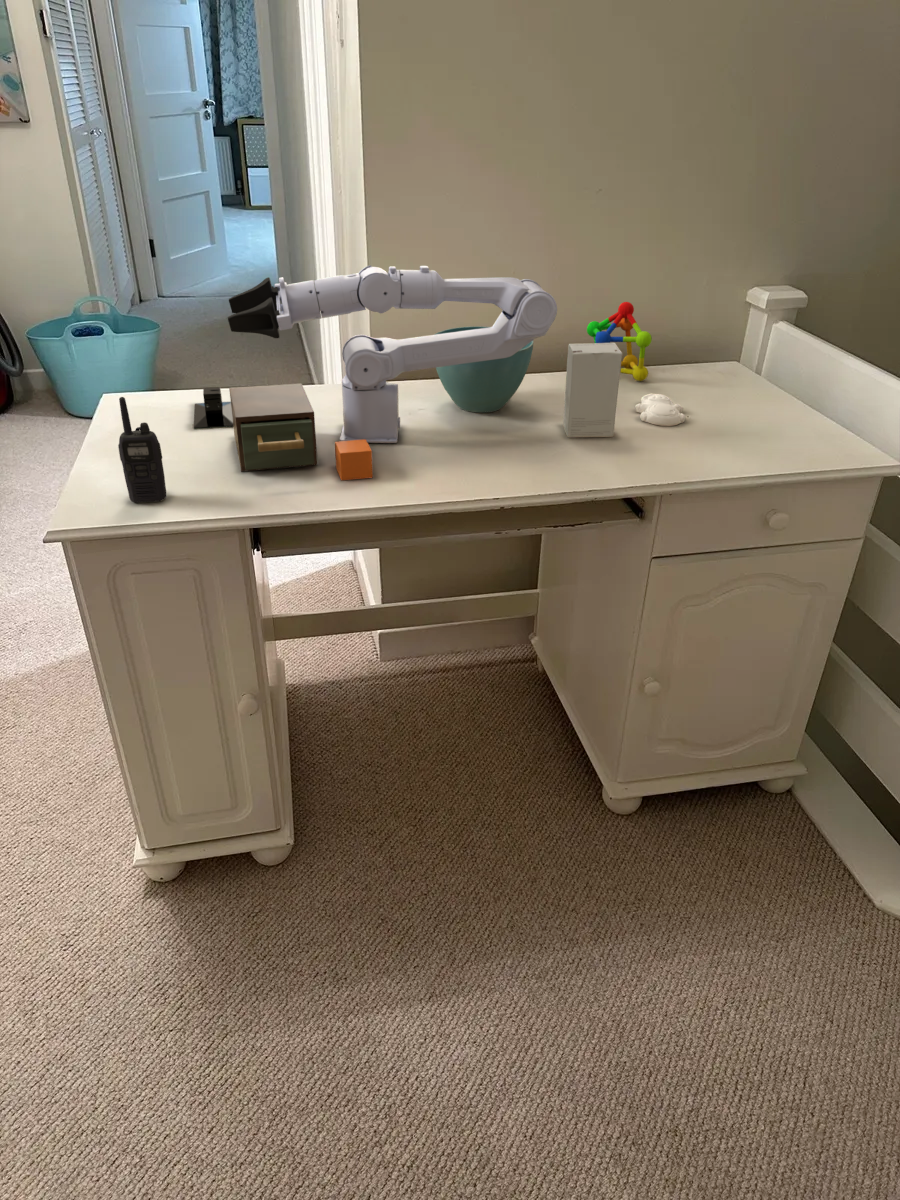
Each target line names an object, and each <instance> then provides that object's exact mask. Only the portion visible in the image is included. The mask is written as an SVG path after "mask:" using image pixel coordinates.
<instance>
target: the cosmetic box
mask: <svg viewBox="0 0 900 1200" xmlns="http://www.w3.org/2000/svg"><path fill="white" fill-rule="evenodd" d="M622 359H623V352H622V351H621V349H620V347H618V345H617V342H610V343H594V342H593V343H587V342H586V343H568V347H567V358H566V373H565V374H566V375H565V388H564V401H563V402H564V403H563V417H562V418H563V419H562V426H563V430H564V432H565V435H566V437H567V438H613V437H614V433H615V425H616V424H615V423H616V415H617V404H618V396H619V385H620V377H621V373H620V368H622V366H621V361H622Z"/></svg>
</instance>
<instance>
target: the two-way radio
mask: <svg viewBox="0 0 900 1200" xmlns="http://www.w3.org/2000/svg"><path fill="white" fill-rule="evenodd" d="M119 408H120V409H119V410H120V415H121V421H122V422H121V423H122V427H123V432H122V433H121V434H120V435H119V440H118V445H117V446H118V447H117V448H118V454H119V460H120V462H121V465H122V470H123V476H124V480H125V481H124V482H125V485H126V488H127V493H128V498H129V500H130V501H131V502H132V503H135V504H136V503H155V502H162V501H163V500H165V499H166V497H167V487H166V478H165V470H164V465H163V453H162V448H161V443H160V442H159V439H158V436H157V435H156V433H155V432H154V431H152V430H151V429H150V426H149V424H148V423H147V422H141V423H140V424H139V426H137V427H136V428H135V429H134V430H132V424H131V419H130V415H129V410H128V406H127V400H126V398H125V397H124V396H120V397H119Z"/></svg>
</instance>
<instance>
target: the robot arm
mask: <svg viewBox="0 0 900 1200" xmlns="http://www.w3.org/2000/svg"><path fill="white" fill-rule="evenodd" d="M278 282H279V283H274V285H272V282H271V278H270V277H266V278H264V279H263V280H262V281H261V282H259V283H258V284H257V285H255V286H253V287H252V288H250V289H248V290H246V291H242V292H241V293H238V294H236V295H233V296H232V297H230V298H228V303H229V307H230V311H231V313H232V314H231V315H229V316H227V322H228V325H229V329H230V331H231V332H233V333H244V334H245V333H246V334H247V333H248V334H258V335H264V336H268V337H270V338H273V339H280V331H286V330H291V329H293V327H294V325H295V324H299V323H305V322H308V321H309V322H310V321H316V320H321V319H326V318H331V317H337V316H343V315H349V314H352V313H355V312H361V311H362V312H363V311H366V310H368V311H370V312H374V313H379V314H384V313H387V312H388V311H390V310H391V309H392V308H395V309H396V310H397V309H398V310H399V309H400V310H436V309H437V308H438V307H439V306H440V305H441V304H442V303H443V302H459V303H477V304H478V303H479V304H492V305H494V306H496V307H498V308H499V309H501V312H500V314H499V315H498V317H497V318H496V320H495V322H494V323H493V325H492V326H487V327H488V328H481V329H474V330H466V331H459V332H451V333H444V334H436V333H435V334H436V335H434V334H429V335H422V336H421V335H420V336H415V337H406V338H399V339H396V338H390V337H385V336H384V337H372V336H369V335H366V334H356V335H353V336H351V337H350V338H348V339H347V341H345V343H344V345H343V347H342V350H341V351H342V352H341V356H342V360H343V362H344V366H345V367H344V369H345V370H344V371H345V375H344V376H343V377H342V379H341V392H342V393H341V395H342V397H341V398H342V417H343V424H342V428H341V433H340V437H339V441H350V440H363V439H366V441H367V443H368V444H369V443H370V444H373V443H374V444H397V443H398V437H399V429H400V428H401V417H400V416H399V384H398V383H392V382H388V381H390V380H394V379H396V378H397V377H398V376H400V375H401V374H402V373H407V372H413V371H420V370H428V369H434V368H435V369H436V367H443V366H450V365H457V364H465V363H472V362H479V361H486V360H494V359H501V358H507V357H510V356H512V355H514V354H515V353H516V352H518V351H519V350H520V349H522V348H523V347H525V346H526V345H527V344H529V343H530V342H531V341H535V340H536V339H538V338H541V337H544V336H546V334H547V333H548V331H549V330H550V328H551V327H552V325H553V323H554V322H555V320H556V318H557V315H558V305H557V304H558V303H557V302H556V299H555V297H554V296H552V294H551V293H549V292H547V291H545V290H544V289H543V288H542V286H541V285H540V284H539V283H538V282H536V281H535V280H533V279H529V278H524V279H520V278H517V277H510V276H509V277H507V276H505V277H504V276H502V277H467V278H466V277H465V278H464V277H463V278H443V277H442V276H441V275H440V274H439V273H438V272H437V271H436V270H434V269H431V270H430V267H429V266H428V265H420V266H419V269H397V267H396V266H393V265H392V266H391V265H390V266H388V271H386V270H385V269H383V268H382V267H378V266H372V265H366V266H365V267H363V268H362V269H360V270H359V271H358V272H357V273H350V274H339V275H334V276H329V277H322V278H317V279H311V280H305V281H300V282H294V283H287V281H285V279H284V277H279V278H278Z"/></svg>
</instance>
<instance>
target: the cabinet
mask: <svg viewBox="0 0 900 1200" xmlns="http://www.w3.org/2000/svg"><path fill="white" fill-rule="evenodd" d="M228 389H229V390H228V391H229V400H230V402H231V409H232V417H233V426H234V427H233V433H234V442H235V446H236V451H237V457H238V461H239V467H240V471H241V473H242V472H252V471H263V470H264V471H266V470H276V469H287V468H300V467H311V466H318V453H317V452H318V451H317V437H316V436H317V435H316V422H315V421H316V420H315V410H314V408H313V407H312V404H311V401H310V399H309V397H308V395H307V393H306V390H305V388H304V386H303V383H302V382H301V383H284V384H269V385H255V386H252V385H251V386H240V387H239V386H238V387H229V388H228ZM292 418H305V420H308V419H311V421H312V428H313V444H314V461H315V464H311V465H299V466H287V467H276V468H264V469H252V470H246V469H245V462H244V453H243V443H242V434H241V424H242V422H251V421H265V420H278V419H292Z"/></svg>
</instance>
